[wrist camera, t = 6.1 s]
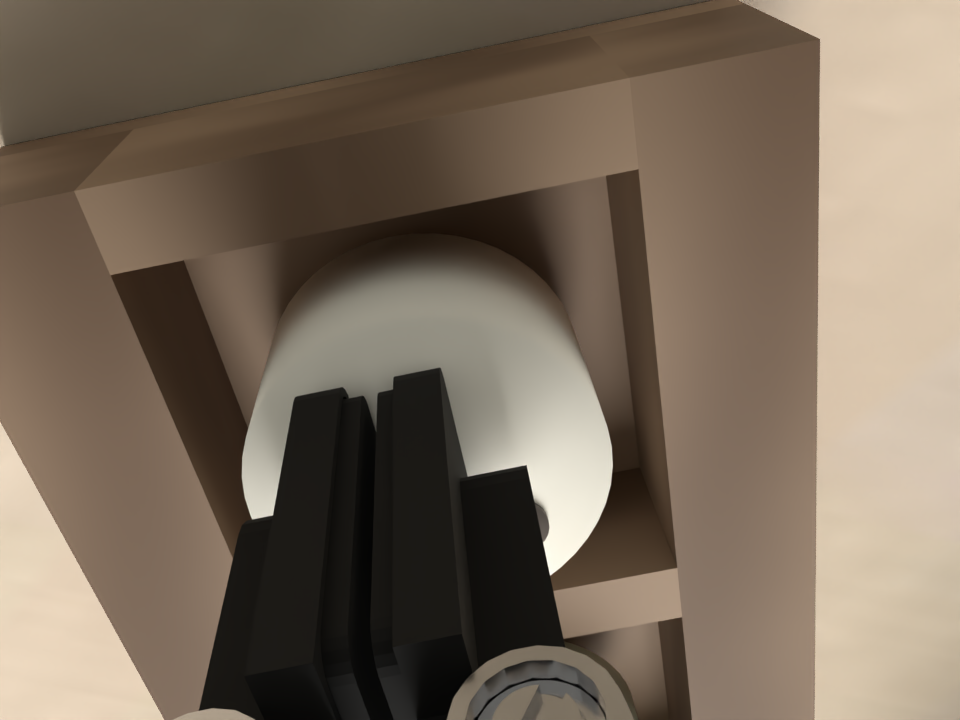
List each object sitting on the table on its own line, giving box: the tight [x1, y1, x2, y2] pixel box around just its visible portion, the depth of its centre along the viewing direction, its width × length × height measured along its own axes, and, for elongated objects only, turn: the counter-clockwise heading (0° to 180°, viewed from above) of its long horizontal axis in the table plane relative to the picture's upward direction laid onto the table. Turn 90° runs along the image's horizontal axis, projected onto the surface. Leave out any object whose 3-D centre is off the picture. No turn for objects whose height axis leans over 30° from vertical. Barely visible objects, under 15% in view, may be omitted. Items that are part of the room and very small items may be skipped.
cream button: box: [242, 233, 613, 575], centre depth 12 cm, size 4×4×2 cm
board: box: [0, 0, 820, 720], centre depth 16 cm, size 10×22×3 cm, turn 10°
